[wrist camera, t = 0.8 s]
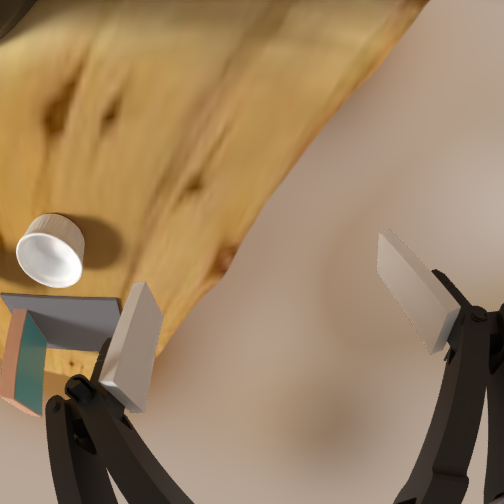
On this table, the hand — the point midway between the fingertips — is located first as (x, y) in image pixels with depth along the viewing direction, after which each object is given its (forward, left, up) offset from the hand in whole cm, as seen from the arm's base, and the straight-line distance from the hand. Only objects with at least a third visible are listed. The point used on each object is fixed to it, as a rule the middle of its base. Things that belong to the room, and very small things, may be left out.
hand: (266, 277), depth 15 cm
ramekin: (-1, -22, -16) cm, 28 cm away
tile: (+9, -44, -16) cm, 48 cm away
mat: (+14, -38, -16) cm, 43 cm away
